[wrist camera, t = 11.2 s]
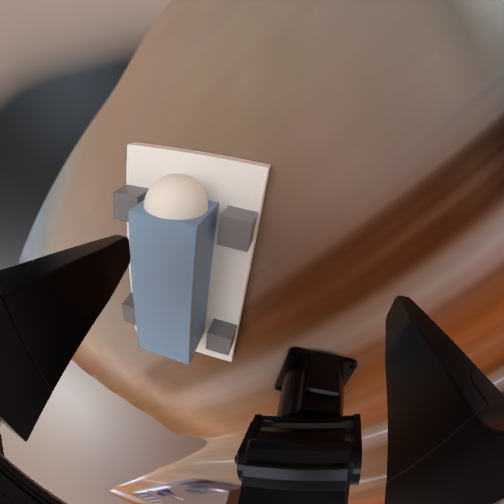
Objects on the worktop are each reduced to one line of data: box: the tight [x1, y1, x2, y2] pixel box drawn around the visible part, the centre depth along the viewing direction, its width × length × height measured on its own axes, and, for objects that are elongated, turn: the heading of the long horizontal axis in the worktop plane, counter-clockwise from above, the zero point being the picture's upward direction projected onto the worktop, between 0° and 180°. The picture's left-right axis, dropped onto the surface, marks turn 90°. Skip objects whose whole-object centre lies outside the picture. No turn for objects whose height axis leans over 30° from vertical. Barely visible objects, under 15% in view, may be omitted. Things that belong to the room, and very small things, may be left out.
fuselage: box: [129, 173, 219, 365], centre depth 20 cm, size 14×4×4 cm, turn 170°
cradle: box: [113, 142, 271, 362], centre depth 22 cm, size 18×10×3 cm, turn 170°
